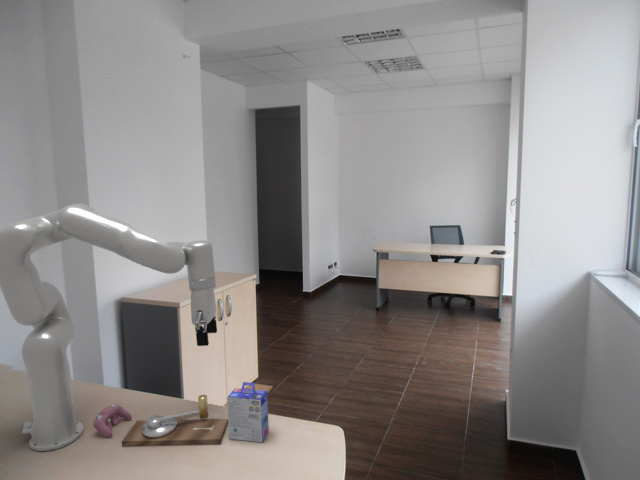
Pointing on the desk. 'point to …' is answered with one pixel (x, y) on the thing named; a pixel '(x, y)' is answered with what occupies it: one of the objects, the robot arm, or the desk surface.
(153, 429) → the silver lever with knob
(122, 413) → the video game controller
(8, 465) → the desk surface
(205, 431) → the stand plate
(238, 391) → the ink cartridge box
